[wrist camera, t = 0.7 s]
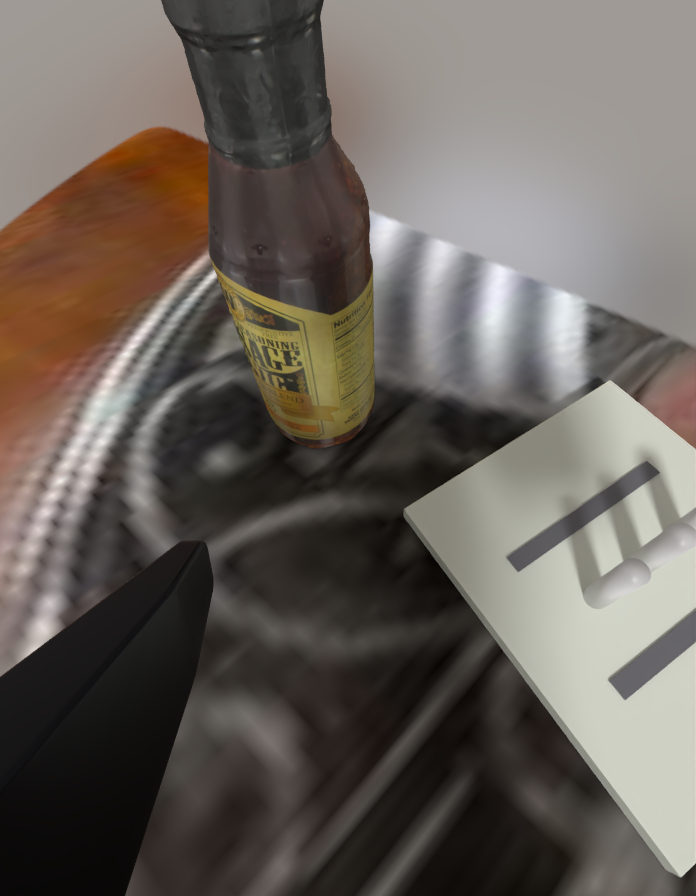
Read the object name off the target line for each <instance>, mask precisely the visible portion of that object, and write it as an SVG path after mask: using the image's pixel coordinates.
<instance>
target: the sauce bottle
mask: <svg viewBox="0 0 696 896" xmlns="http://www.w3.org/2000/svg"><path fill="white" fill-rule="evenodd" d="M161 1H162V4H163V8H164V11H165V14H166V15H167V17H168V19H169V21H170V22H171V24H172V25H173V27H174V29H175V30H176V32H177V33H178V35H179V36H180V38H181V40H182V43H183V46H184V48H185V54H186V57H187V60H188V65H189V68H190V71H191V75H192V79H193V81H194V84H195V87H196V91H197V95H198V98H199V101H200V104H201V107H202V111H203V114H204V118H205V122H204V127H205V132H206V134H207V137H208V140H209V163H208V185H209V255H210V258H211V261H212V264H213V267H214V269H215V272H216V274H217V277H218V280H219V283H220V285H221V288H222V291H223V293H224V296H225V298H226V301H227V303H228V306H229V310H230V313H231V315H232V317H233V320H234V324H235V326H236V329H237V332H238V335H239V337H240V340H241V342H242V344H243V346H244V350H245V353H246V355H247V358H248V360H249V363H250V365H251V368H252V370H253V373H254V376H255V378H256V381H257V384H258V386H259V389H260V391H261V394H262V397H263V399H264V402H265V404H266V407H267V410H268V412H269V414H270V416H271V418H272V419H273V420H274V422H275V423H276V426H277V427H278V428H279V430H280V431H281V433H283V434H284V435H285V436H287V437H288V438H289V439H291V440H293V441H295V442H296V443H298V444H300V445H305V446H306V447H310V448H314V449H316V448H319V449H320V448H322V449H324V448H327V447H329V446H335V445H338V444H342V443H345V442H347V441H348V440H351V439H352V438H354V437H355V435H356V434H358V432H359V431H360V430H362V428H363V427H364V426H365V424H366V422H367V421H368V418H369V416H370V414H371V413H372V409H373V405H374V392H375V385H374V315H373V262H372V258H371V254H370V243H369V233H370V218H369V206H368V200H367V196H366V193H365V189H364V186H363V183H362V181H361V179H360V177H359V175H358V174H357V172H356V171H355V167H354V165H353V164H352V163H351V162H350V160H349V159H348V158H347V157H346V155H345V154H344V152H343V150H341V148H340V146H339V144H338V143H337V142H336V140H335V139H334V138H333V136H332V131H331V105H330V100H329V98H328V97H327V90H326V80H325V65H324V53H323V43H322V32H321V22H320V14H321V10H322V6H323V1H324V0H161Z"/></svg>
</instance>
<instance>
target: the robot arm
mask: <svg viewBox="0 0 696 896" xmlns="http://www.w3.org/2000/svg"><path fill="white" fill-rule="evenodd" d="M212 592H213V574H212V568H211V563H210V558H209V553H208V548H207V545H206V543H205V542H203V541H181V542H179V543H178V544H176V545H175V546H174V547H172V548H171V549H170V550H168V551H167V552H166V553H164V554H163V555H162V556H160V557H159V558H158V559H156V560H155V561H154V562H152V563H151V564H150V565H148V566H147V567H146V568H144V569H143V570H142V571H140V572H139V573H138V574H136V575H135V576H134V577H132V578H131V579H130V580H128V581H127V582H126V583H124V584H123V585H122V586H120V587H119V588H118V589H116V590H115V591H114V592H112V593H111V594H110V595H108V596H107V597H106V598H104V599H103V600H102V601H100V602H99V603H98V604H96V605H95V606H94V607H92V608H91V609H90V610H89V611H87V612H86V613H85V614H83V615H82V616H81V617H79V618H78V619H77V620H75V621H74V622H73V623H71V624H70V625H69V626H67V627H66V628H65V629H63V630H62V631H61V632H59V633H58V634H57V635H55V636H54V637H53V638H51V639H50V640H49V641H47V642H46V643H45V644H43V645H42V646H41V647H39V648H38V649H37V650H35V651H34V652H33V653H31V654H30V655H29V656H27V657H26V658H25V659H23V660H22V661H21V662H19V663H18V664H17V665H15V666H14V667H13V668H11V669H10V670H9V671H7V672H6V673H5V674H3V675H2V676H1V677H0V896H125V894H126V891H127V888H128V885H129V882H130V879H131V875H132V872H133V869H134V866H135V863H136V860H137V857H138V854H139V851H140V847H141V844H142V841H143V838H144V835H145V832H146V829H147V826H148V822H149V819H150V816H151V813H152V810H153V807H154V804H155V801H156V798H157V794H158V791H159V788H160V785H161V782H162V779H163V776H164V773H165V769H166V766H167V763H168V760H169V757H170V754H171V751H172V748H173V745H174V741H175V738H176V735H177V732H178V729H179V726H180V723H181V720H182V716H183V713H184V710H185V707H186V704H187V701H188V698H189V695H190V692H191V688H192V685H193V682H194V678H195V675H196V670H197V666H198V662H199V657H200V652H201V647H202V642H203V637H204V632H205V627H206V622H207V617H208V612H209V607H210V602H211V597H212Z"/></svg>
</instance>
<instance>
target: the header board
mask: <svg viewBox="0 0 696 896" xmlns="http://www.w3.org/2000/svg"><path fill="white" fill-rule="evenodd" d="M403 517H404V518H405V519H406V521H407V522H408V523H409V525H410V526H411V528H412V529H413V530H414V532H415V533H416V534H417V536H418V537H419V538H420V540H421V541H422V542H423V544H424V545H425V546H426V548H427V549H428V550H429V552H430V553H431V554H432V556H433V557H434V558H435V560H436V561H437V562H438V564H439V565H440V567H441V568H442V569H443V571H444V572H445V573H446V575H447V576H448V577H449V579H450V580H451V581H452V583H453V584H454V585H455V587H456V588H457V589H458V591H459V592H460V593H461V595H462V596H463V597H464V599H465V600H466V602H467V603H468V604H469V606H470V607H471V608H472V610H473V611H474V612H475V614H476V615H477V616H478V618H479V619H480V620H481V622H482V623H483V624H484V626H485V627H486V628H487V630H488V631H489V632H490V634H491V635H492V636H493V638H494V639H495V641H496V642H497V643H498V645H499V646H500V647H501V649H502V650H503V651H504V653H505V654H506V655H507V657H508V658H509V659H510V661H511V662H512V663H513V665H514V666H515V667H516V669H517V670H518V671H519V673H520V674H521V675H522V677H523V678H524V680H525V681H526V682H527V684H528V685H529V686H530V688H531V689H532V690H533V692H534V693H535V694H536V696H537V697H538V698H539V700H540V701H541V702H542V704H543V705H544V706H545V708H546V709H547V710H548V712H549V713H550V714H551V716H552V717H553V719H554V720H555V721H556V723H557V724H558V725H559V727H560V728H561V729H562V731H563V732H564V733H565V735H566V736H567V737H568V739H569V740H570V741H571V743H572V744H573V745H574V747H575V748H576V749H577V751H578V752H579V754H580V755H581V756H582V758H583V759H584V760H585V762H586V763H587V764H588V766H589V767H590V768H591V770H592V771H593V772H594V774H595V775H596V776H597V778H598V779H599V780H600V782H601V783H602V784H603V786H604V787H605V788H606V790H607V791H608V793H609V794H610V795H611V797H612V798H613V799H614V801H615V802H616V803H617V805H618V806H619V807H620V809H621V810H622V811H623V813H624V814H625V815H626V817H627V818H628V819H629V821H630V822H631V823H632V825H633V826H634V827H635V829H636V830H637V832H638V833H639V834H640V836H641V837H642V838H643V840H644V841H645V842H646V844H647V845H648V846H649V848H650V849H651V850H652V852H653V853H654V854H655V856H656V857H657V858H658V860H659V861H660V862H661V864H662V865H663V866H664V868H665V869H666V870H667V871H669V872H671V873H673V874H675V875H677V876H679V877H682V876H683V875H684V874H685V873H686V872H687V871H688V870H689V869H690V868H691V867H692V866H693V865H694V864H695V863H696V449H694V448H693V447H692V446H691V445H690V444H688V443H687V442H686V441H685V440H683V439H682V438H681V437H680V436H678V435H677V434H676V433H675V432H674V431H672V430H671V429H670V428H669V427H667V426H666V425H665V424H664V423H662V422H661V421H660V420H659V419H658V418H656V417H655V416H654V415H653V414H651V413H650V412H649V411H648V410H646V409H645V408H644V407H643V406H641V405H640V404H639V403H638V402H637V401H635V400H634V399H633V398H632V397H630V396H629V395H628V394H627V393H625V392H624V391H623V390H622V389H621V388H619V387H618V386H617V385H616V384H614V383H613V382H612V381H611V380H610V381H608V382H606V383H605V384H603V385H602V386H600V387H598V388H597V389H595V390H594V391H592V392H590V393H589V394H587V395H586V396H584V397H582V398H581V399H579V400H578V401H576V402H574V403H573V404H571V405H569V406H568V407H566V408H565V409H563V410H561V411H560V412H558V413H557V414H555V415H553V416H552V417H550V418H549V419H547V420H545V421H544V422H542V423H541V424H539V425H537V426H536V427H534V428H533V429H531V430H529V431H528V432H526V433H525V434H523V435H521V436H520V437H518V438H517V439H515V440H513V441H512V442H510V443H509V444H507V445H505V446H504V447H502V448H501V449H499V450H497V451H496V452H494V453H493V454H491V455H489V456H488V457H486V458H485V459H483V460H481V461H480V462H478V463H477V464H475V465H473V466H472V467H470V468H469V469H467V470H465V471H464V472H462V473H461V474H459V475H457V476H456V477H454V478H453V479H451V480H449V481H448V482H446V483H445V484H443V485H441V486H440V487H438V488H437V489H435V490H433V491H432V492H430V493H429V494H427V495H425V496H424V497H422V498H421V499H419V500H417V501H416V502H414V503H413V504H411V505H409V506H408V507H406V508H405V509H404V516H403Z"/></svg>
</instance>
